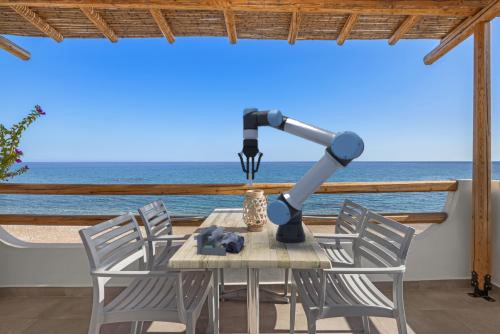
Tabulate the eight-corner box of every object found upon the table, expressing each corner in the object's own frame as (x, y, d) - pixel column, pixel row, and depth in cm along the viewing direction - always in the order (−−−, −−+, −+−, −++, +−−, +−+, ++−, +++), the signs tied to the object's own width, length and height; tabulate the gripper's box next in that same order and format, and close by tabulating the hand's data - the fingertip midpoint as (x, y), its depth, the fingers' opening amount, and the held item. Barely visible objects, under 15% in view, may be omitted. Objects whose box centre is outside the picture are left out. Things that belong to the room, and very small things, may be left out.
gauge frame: (236, 241, 145) (237, 225, 145) (225, 255, 123) (225, 236, 123) (212, 240, 147) (212, 224, 147) (197, 254, 125) (197, 235, 125)
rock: (241, 250, 123) (243, 227, 128) (217, 248, 124) (221, 225, 129) (242, 257, 136) (245, 235, 141) (221, 254, 137) (224, 233, 141)
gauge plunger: (225, 241, 145) (225, 224, 145) (212, 253, 125) (212, 234, 125) (202, 239, 147) (202, 223, 147) (185, 252, 127) (185, 233, 127)
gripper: (263, 139, 149) (263, 185, 149) (238, 139, 150) (238, 185, 150) (263, 138, 141) (263, 187, 142) (236, 138, 142) (236, 186, 143)
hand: (250, 186), depth 146 cm, fingers closed
